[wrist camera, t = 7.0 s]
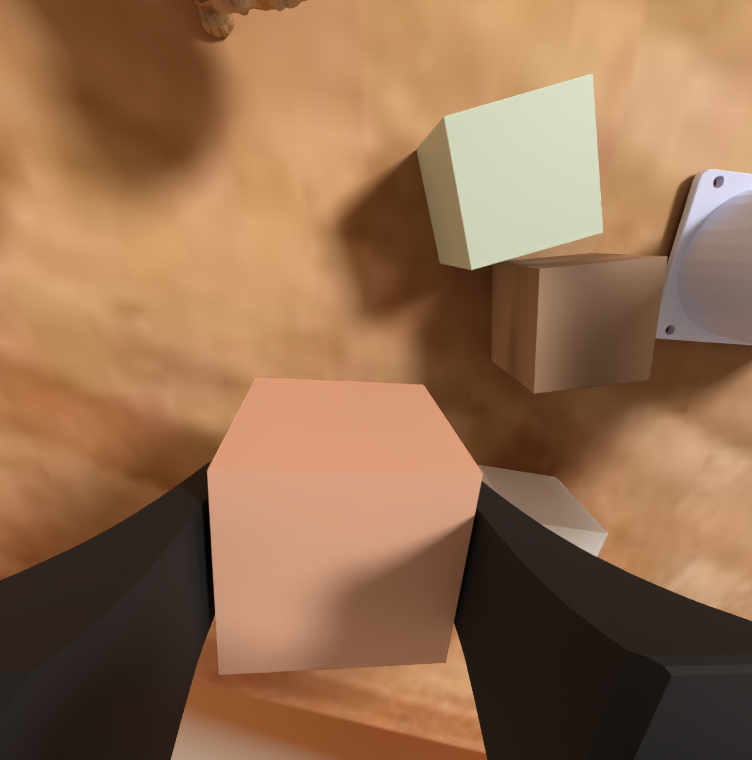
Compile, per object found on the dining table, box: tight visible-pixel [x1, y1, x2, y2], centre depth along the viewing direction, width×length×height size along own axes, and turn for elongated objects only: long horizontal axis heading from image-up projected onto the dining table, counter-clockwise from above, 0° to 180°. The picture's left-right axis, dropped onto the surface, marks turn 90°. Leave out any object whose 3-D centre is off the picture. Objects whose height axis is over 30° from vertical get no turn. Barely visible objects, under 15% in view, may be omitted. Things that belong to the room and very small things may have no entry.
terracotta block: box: [207, 377, 483, 675], centre depth 10 cm, size 5×5×5 cm
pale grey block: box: [478, 465, 608, 557], centre depth 22 cm, size 5×5×5 cm
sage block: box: [416, 74, 603, 270], centre depth 16 cm, size 5×5×5 cm
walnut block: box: [491, 253, 668, 393], centre depth 18 cm, size 5×5×5 cm
